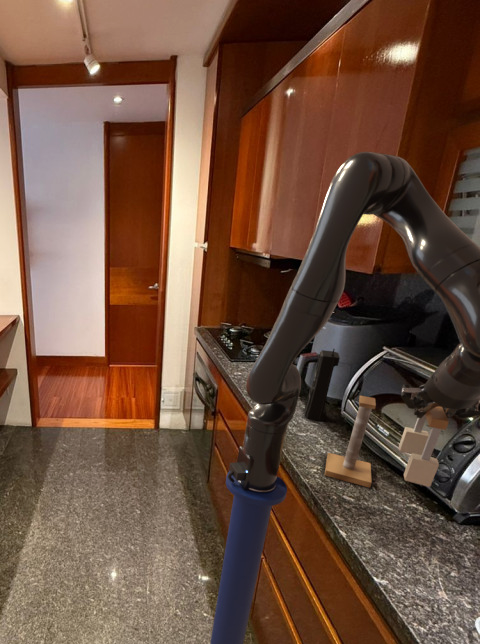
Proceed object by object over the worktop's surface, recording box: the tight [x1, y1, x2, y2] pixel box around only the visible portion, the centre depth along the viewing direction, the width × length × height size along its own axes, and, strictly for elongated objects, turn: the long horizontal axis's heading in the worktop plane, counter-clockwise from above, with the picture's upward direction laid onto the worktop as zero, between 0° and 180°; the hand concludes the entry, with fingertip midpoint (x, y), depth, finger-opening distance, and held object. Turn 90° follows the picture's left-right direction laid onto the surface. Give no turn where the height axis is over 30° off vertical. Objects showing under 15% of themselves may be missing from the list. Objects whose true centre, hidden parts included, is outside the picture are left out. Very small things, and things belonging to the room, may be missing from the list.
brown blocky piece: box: [398, 406, 450, 488], centre depth 79 cm, size 4×15×14 cm, turn 148°
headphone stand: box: [324, 395, 377, 489], centre depth 99 cm, size 10×10×21 cm
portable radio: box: [303, 348, 341, 422], centre depth 129 cm, size 8×6×25 cm
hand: (428, 415), depth 79 cm, fingers closed on brown blocky piece, 2 cm apart
